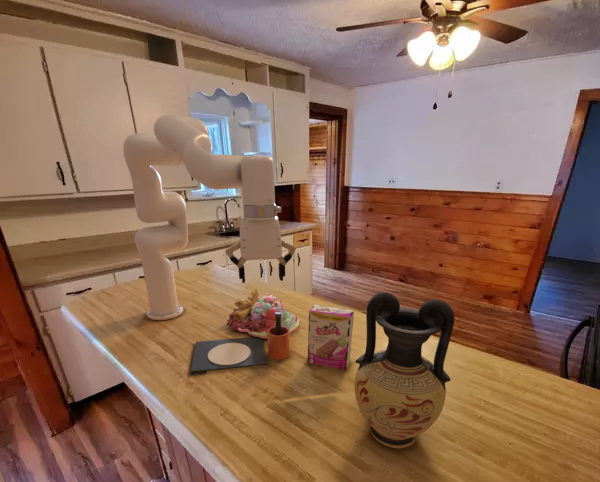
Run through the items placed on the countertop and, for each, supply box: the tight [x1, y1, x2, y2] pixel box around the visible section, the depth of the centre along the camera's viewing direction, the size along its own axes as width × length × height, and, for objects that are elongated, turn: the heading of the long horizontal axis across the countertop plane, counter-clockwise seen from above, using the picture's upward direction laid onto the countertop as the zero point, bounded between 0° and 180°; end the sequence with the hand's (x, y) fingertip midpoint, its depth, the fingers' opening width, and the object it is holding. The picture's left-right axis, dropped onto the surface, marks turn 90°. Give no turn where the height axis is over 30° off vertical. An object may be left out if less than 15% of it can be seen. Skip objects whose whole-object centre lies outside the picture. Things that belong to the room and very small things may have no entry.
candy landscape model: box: [226, 289, 299, 340], centre depth 115 cm, size 25×24×9 cm
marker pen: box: [275, 312, 281, 336], centre depth 95 cm, size 2×2×13 cm
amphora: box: [354, 291, 456, 449], centre depth 64 cm, size 18×17×30 cm
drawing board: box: [190, 336, 268, 375], centre depth 97 cm, size 16×20×1 cm
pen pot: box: [267, 326, 291, 361], centre depth 96 cm, size 6×6×8 cm
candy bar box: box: [307, 304, 355, 371], centre depth 90 cm, size 11×5×16 cm, turn 71°
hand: (262, 280), depth 87 cm, fingers open, 9 cm apart
